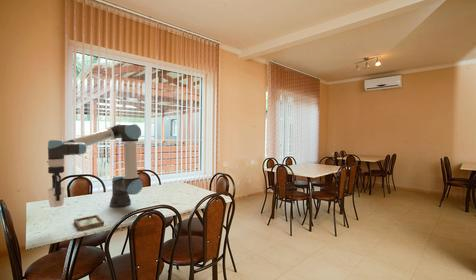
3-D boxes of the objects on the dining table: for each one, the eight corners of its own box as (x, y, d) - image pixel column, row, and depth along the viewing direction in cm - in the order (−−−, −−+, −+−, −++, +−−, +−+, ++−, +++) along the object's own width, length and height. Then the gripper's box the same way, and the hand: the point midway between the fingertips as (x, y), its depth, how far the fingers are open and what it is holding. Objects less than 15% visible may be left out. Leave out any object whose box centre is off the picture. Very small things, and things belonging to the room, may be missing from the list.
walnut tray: (97, 217, 161) (97, 214, 161) (103, 225, 150) (103, 221, 150) (74, 222, 152) (74, 219, 152) (79, 230, 141) (79, 226, 141)
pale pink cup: (45, 206, 139) (44, 189, 139) (59, 202, 147) (59, 186, 146) (53, 208, 136) (53, 191, 136) (68, 204, 144) (67, 188, 143)
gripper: (46, 164, 145) (46, 201, 146) (50, 168, 131) (50, 210, 132) (61, 163, 151) (61, 199, 152) (67, 167, 136) (67, 207, 137)
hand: (56, 204), depth 142 cm, fingers closed on pale pink cup, 8 cm apart
